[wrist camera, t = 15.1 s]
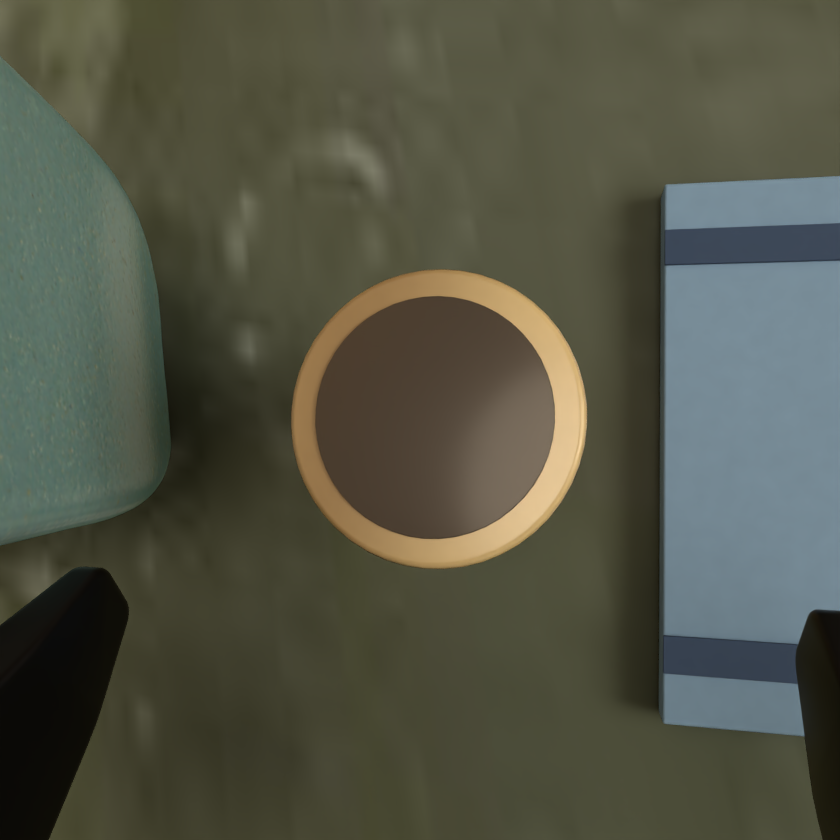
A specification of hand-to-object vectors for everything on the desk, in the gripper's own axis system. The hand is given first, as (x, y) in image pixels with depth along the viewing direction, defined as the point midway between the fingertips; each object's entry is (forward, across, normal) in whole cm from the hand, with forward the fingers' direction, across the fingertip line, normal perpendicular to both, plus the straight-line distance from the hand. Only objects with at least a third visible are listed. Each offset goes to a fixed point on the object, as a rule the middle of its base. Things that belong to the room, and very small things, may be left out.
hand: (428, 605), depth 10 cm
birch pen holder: (+8, 0, +4) cm, 9 cm away
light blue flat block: (+8, -6, +4) cm, 11 cm away
